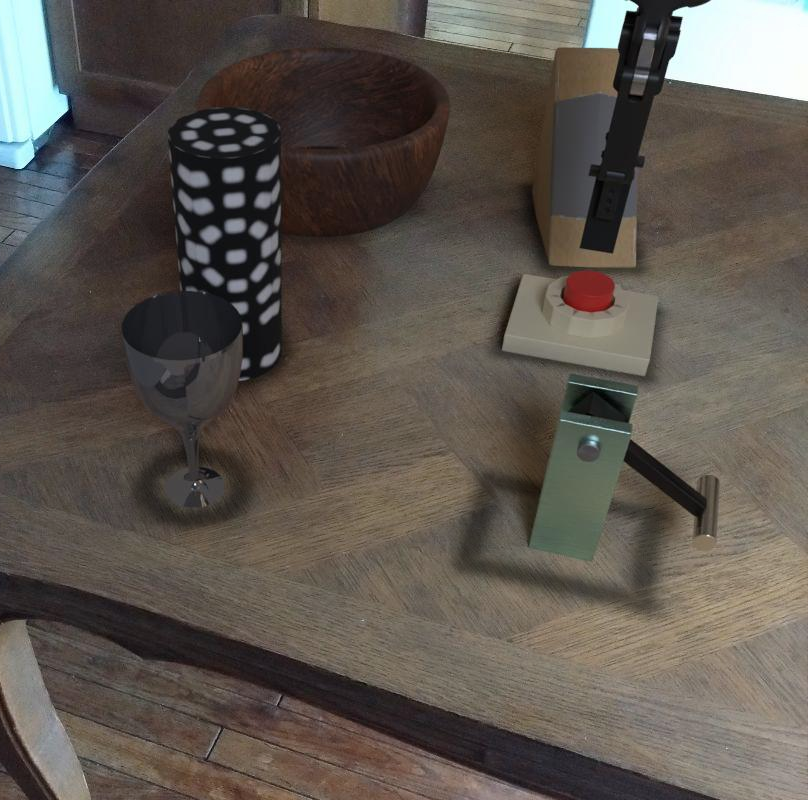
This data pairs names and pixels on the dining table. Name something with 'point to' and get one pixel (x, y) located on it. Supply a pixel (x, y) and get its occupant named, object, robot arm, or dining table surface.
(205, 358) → the wine glass
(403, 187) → the wooden bowl
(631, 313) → the block
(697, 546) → the lever
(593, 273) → the button
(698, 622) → the dining table surface
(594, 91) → the sandwich container
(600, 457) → the bracket
